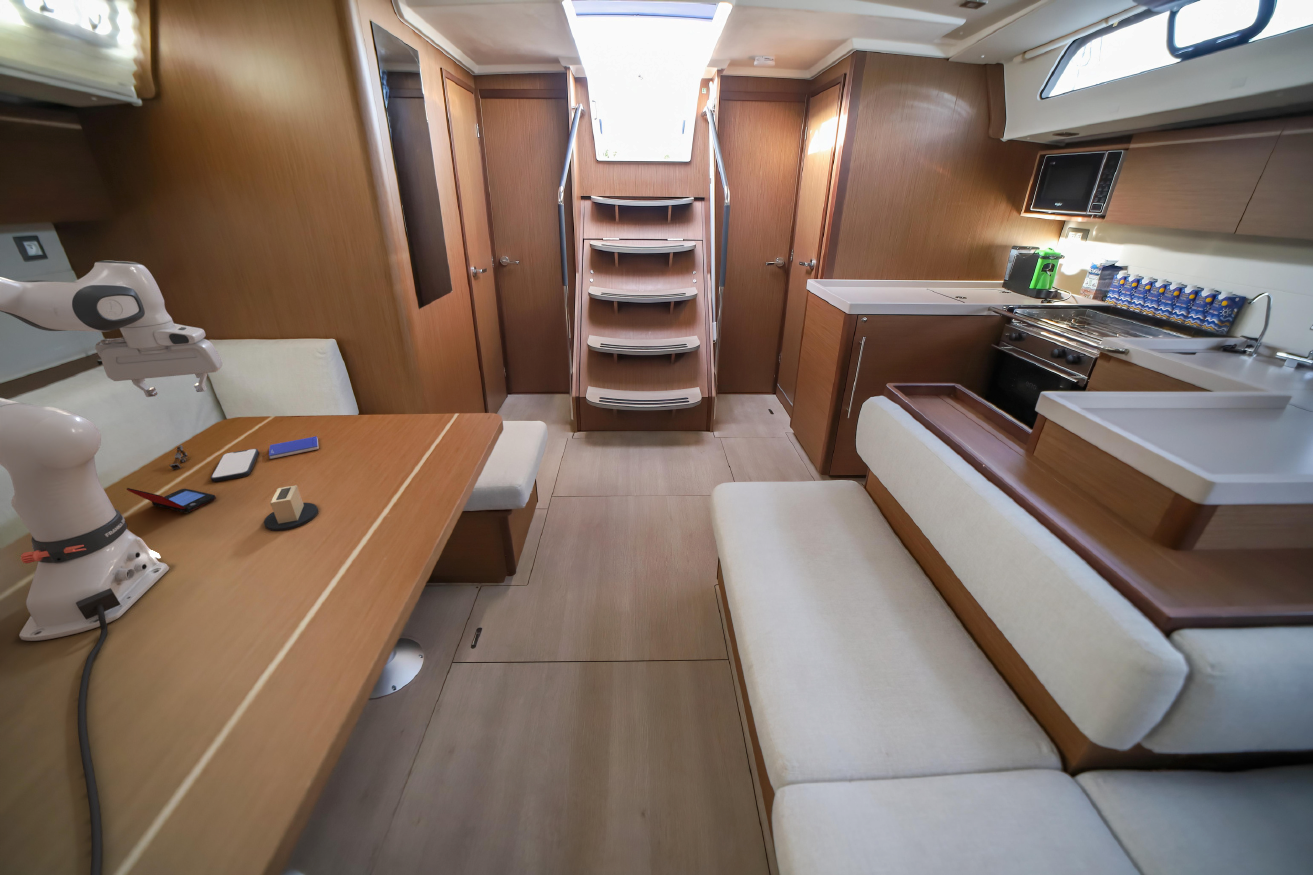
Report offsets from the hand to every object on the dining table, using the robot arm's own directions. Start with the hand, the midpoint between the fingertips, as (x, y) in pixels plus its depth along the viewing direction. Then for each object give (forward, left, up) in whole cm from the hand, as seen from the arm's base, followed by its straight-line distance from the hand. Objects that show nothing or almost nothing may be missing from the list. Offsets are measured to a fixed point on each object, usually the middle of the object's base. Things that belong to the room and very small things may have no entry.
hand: (177, 393), depth 118 cm
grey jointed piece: (+26, +18, -29) cm, 43 cm away
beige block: (-17, -19, -28) cm, 38 cm away
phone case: (+18, +2, -29) cm, 34 cm away
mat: (-17, -19, -29) cm, 39 cm away
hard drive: (+25, -11, -29) cm, 40 cm away
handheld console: (-1, +9, -29) cm, 31 cm away
